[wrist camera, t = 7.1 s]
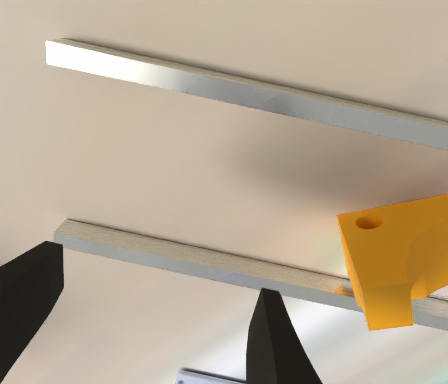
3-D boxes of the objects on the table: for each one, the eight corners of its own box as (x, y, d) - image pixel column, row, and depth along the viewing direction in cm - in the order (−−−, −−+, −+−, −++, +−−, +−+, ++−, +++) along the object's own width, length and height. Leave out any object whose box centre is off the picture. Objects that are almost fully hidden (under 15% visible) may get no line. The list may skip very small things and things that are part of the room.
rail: (510, 327, 24) (540, 367, 21) (66, 231, 24) (41, 259, 21) (642, 164, 18) (706, 191, 16) (62, 38, 18) (28, 44, 16)
